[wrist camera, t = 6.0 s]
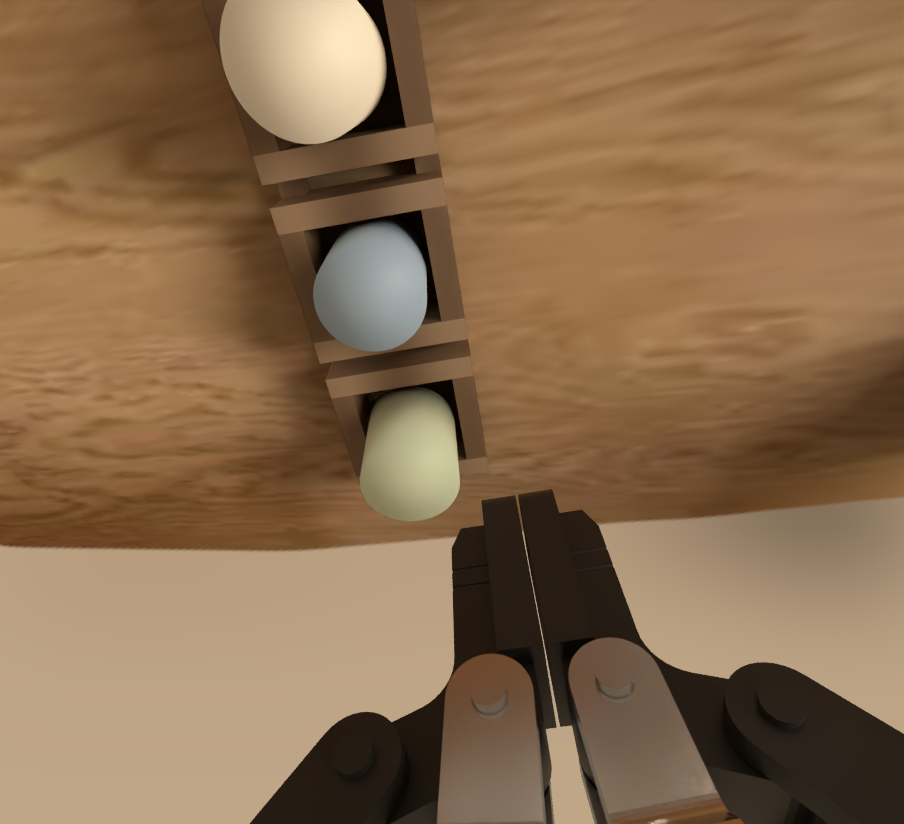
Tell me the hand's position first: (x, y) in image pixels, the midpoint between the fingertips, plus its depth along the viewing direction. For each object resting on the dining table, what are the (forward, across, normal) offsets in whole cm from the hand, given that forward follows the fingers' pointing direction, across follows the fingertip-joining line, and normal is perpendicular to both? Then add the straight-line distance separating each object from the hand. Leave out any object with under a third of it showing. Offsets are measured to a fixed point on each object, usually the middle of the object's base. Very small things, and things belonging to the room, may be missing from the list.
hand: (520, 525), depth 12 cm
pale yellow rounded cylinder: (+18, +5, +8) cm, 21 cm away
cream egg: (+18, +5, -10) cm, 21 cm away
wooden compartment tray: (+21, +5, -1) cm, 22 cm away
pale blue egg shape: (+20, +5, -1) cm, 21 cm away
